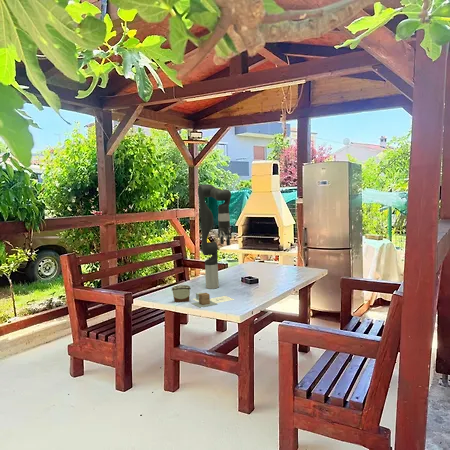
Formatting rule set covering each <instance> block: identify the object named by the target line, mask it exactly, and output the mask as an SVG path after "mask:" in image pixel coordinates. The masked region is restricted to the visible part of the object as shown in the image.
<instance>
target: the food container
mask: <svg viewBox="0 0 450 450" xmlns="http://www.w3.org/2000/svg"><path fill="white" fill-rule="evenodd" d="M171 291H172V295H173V301H174V302H176V303H188V302H190V297H191V296H190V295H191V294H190V292H191V286H190V285H188V284H187V285H186V284H178V285H175V286H172V287H171Z"/></svg>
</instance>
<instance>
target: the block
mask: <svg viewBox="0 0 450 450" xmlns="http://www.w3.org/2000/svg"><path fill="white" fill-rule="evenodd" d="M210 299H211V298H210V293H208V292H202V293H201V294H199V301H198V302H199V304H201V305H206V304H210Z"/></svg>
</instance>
